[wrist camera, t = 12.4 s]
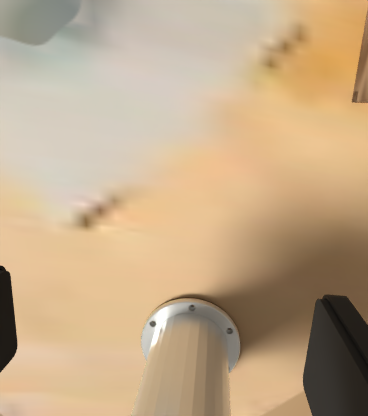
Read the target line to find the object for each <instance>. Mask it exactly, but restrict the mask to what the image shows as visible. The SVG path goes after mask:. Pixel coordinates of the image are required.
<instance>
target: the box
mask: <svg viewBox="0 0 368 416" xmlns="http://www.w3.org/2000/svg"><path fill="white" fill-rule="evenodd" d="M352 102H356V103H368V10H367V16H366V22H365V28H364V34H363V40H362V46H361V51H360V57H359V63H358V69H357V75H356V81H355V87H354V93H353V98H352Z"/></svg>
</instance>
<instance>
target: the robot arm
mask: <svg viewBox="0 0 368 416" xmlns="http://www.w3.org/2000/svg"><path fill="white" fill-rule="evenodd" d="M141 347H142V351H143V354H144V357H145V359H146V364H145V368H144V371H143V375H142V378H141V382H140V385H139V389H138V392H137V396H136V399H135V403H134V406H133V410H132V413H131V416H231V409H230V387H229V373H230V372H231V371H232V369H233V368H234V367H235V365H236V363H237V361H238V359H239V354H240V338H239V333H238V330H237V327H236V325H235V324H234V322H233V320H232V319H231V318H230V317H229V316H228V314H227V313H226V312H225V311H223V310H222V309H221V308H219V307H218V306H216V305H214V304H212V303H210V302H207V301H204V300H201V299H194V298H181V299H176V300H172V301H169V302H167V303H164V304H163V305H161V306H160V307H158V308H157V309H155V310H154V311H153V313H152V314H151V315H150V316H149V318H148V319H147V321H146V323H145V325H144V328H143V331H142V336H141ZM16 350H17V335H16V325H15V315H14V306H13V296H12V286H11V276H10V273H9V272H8V271H6V269H5V268H4V267H3V266H0V372H1V371H2V370H3V369H4V368H5V366H6V365H7V364H8V363H9V362H10V361H11V359H12V358H13V357H14V355H15V353H16ZM303 386H304V391H305V393H306V397H307V400H308V403H309V406H310V409H311V413H312V415H313V416H368V325H367V324H366V322H365V321H364V320H363V318H362V317H361V315H360V314H359V313H358V311H357V310H356V309H355V307H354V306H353V304H352V303H351V302H350V300H349V299H348V298H347V297H346V296H336V295H324V296H323V299H317V301H316V304H315V310H314V316H313V322H312V328H311V333H310V339H309V345H308V351H307V357H306V362H305V368H304V374H303Z"/></svg>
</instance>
